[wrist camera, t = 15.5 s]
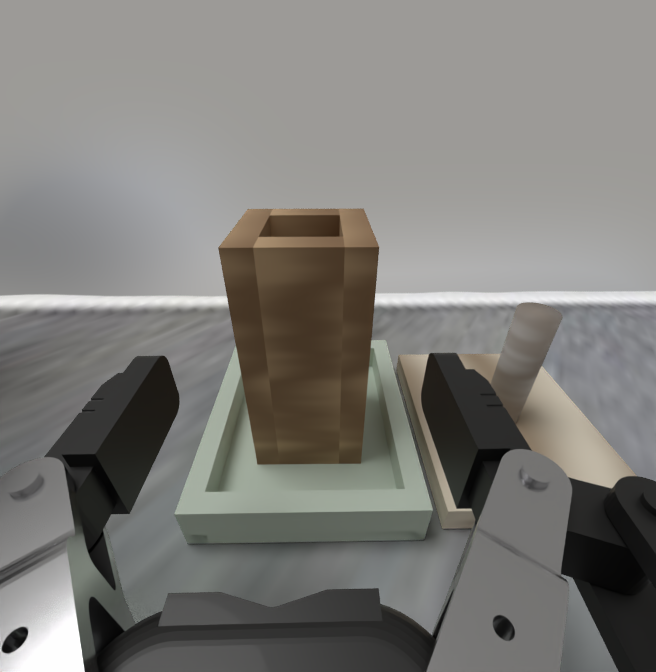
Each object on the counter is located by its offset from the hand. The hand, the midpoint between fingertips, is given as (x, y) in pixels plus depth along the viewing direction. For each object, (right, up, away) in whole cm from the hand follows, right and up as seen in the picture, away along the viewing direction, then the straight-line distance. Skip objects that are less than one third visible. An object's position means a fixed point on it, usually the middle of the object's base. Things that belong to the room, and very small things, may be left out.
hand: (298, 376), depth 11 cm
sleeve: (0, -4, +10) cm, 11 cm away
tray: (0, -5, +11) cm, 12 cm away
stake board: (+11, -5, +11) cm, 16 cm away
